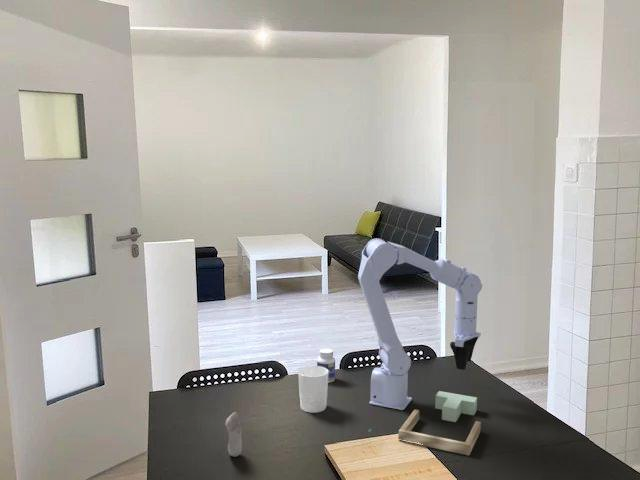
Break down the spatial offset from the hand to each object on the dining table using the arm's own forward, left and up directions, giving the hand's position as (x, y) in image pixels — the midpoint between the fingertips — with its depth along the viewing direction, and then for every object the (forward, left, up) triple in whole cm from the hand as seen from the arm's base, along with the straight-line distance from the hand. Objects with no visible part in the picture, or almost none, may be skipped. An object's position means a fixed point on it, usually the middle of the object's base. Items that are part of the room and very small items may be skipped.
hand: (463, 364), depth 166 cm
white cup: (-34, -23, -10) cm, 42 cm away
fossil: (-39, -53, -10) cm, 66 cm away
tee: (0, -11, -9) cm, 14 cm away
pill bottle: (-39, -4, -10) cm, 40 cm away
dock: (0, -24, -9) cm, 26 cm away
